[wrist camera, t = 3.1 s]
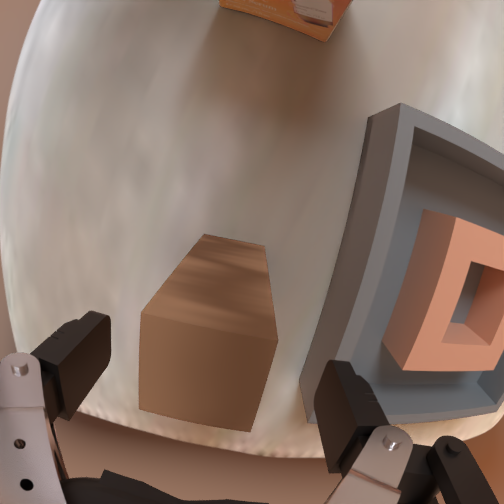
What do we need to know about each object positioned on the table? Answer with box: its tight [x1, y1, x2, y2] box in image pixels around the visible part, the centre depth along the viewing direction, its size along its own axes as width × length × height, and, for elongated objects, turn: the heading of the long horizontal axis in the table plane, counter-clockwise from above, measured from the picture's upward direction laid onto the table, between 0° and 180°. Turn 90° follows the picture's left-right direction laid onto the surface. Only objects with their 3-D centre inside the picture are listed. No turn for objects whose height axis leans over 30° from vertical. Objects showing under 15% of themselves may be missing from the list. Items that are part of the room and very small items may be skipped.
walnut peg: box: [139, 234, 278, 432], centre depth 15 cm, size 4×4×12 cm
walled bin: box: [299, 103, 504, 424], centre depth 18 cm, size 20×20×5 cm
